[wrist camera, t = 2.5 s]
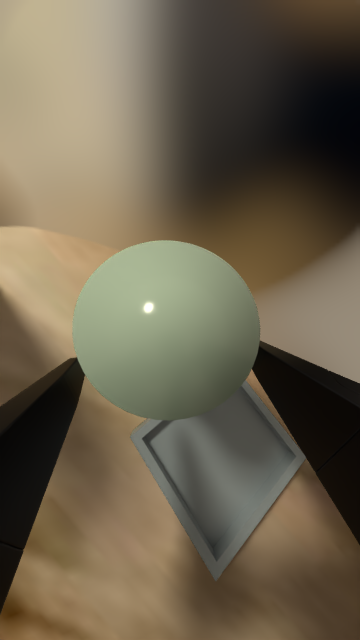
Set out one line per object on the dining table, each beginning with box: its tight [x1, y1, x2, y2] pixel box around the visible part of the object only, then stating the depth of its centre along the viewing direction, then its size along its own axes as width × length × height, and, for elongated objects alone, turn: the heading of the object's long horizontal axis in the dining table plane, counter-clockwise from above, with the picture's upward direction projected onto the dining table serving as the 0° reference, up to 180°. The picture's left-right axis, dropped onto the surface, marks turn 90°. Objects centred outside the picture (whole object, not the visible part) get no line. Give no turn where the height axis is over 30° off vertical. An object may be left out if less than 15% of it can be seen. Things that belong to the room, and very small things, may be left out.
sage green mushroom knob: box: [73, 240, 260, 420], centre depth 11 cm, size 7×7×12 cm
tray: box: [130, 380, 306, 581], centre depth 14 cm, size 11×11×2 cm
